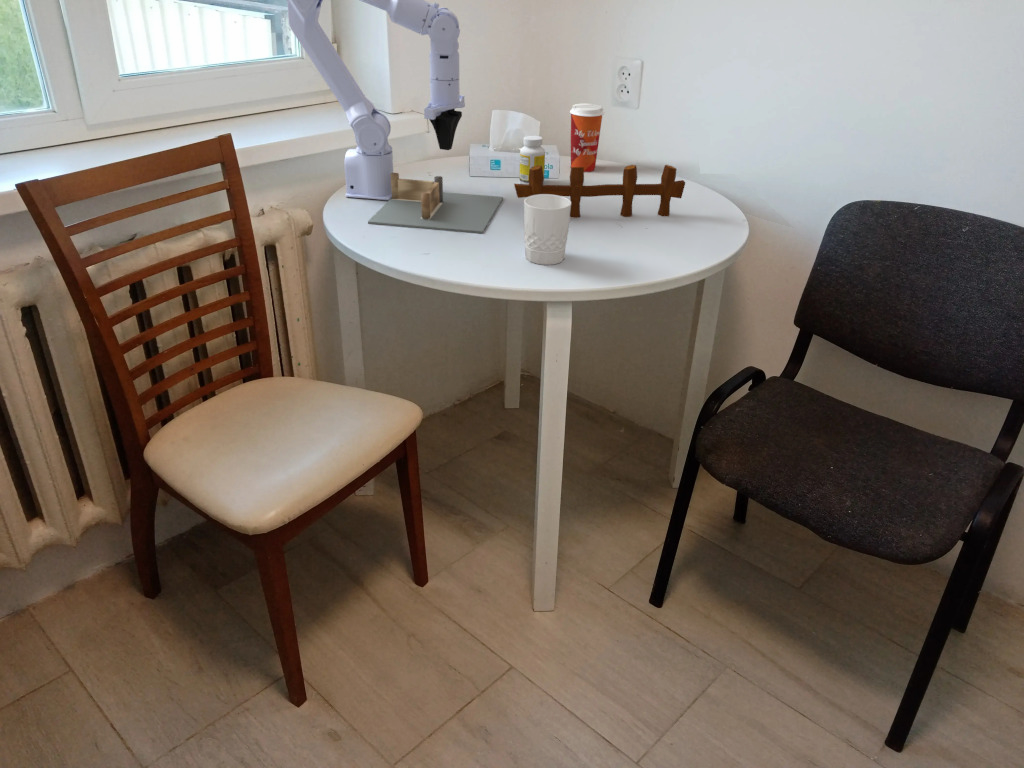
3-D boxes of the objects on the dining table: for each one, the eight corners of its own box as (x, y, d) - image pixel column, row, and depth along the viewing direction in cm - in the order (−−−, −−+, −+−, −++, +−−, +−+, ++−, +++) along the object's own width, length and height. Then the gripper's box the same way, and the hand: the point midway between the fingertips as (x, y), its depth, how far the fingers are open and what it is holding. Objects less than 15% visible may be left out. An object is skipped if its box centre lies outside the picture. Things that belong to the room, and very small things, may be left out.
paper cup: (571, 174, 180) (576, 110, 173) (562, 164, 187) (565, 103, 180) (604, 172, 182) (609, 109, 175) (593, 163, 188) (598, 102, 181)
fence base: (390, 199, 160) (389, 174, 158) (393, 196, 162) (392, 172, 159) (441, 203, 159) (441, 178, 156) (443, 200, 160) (443, 176, 158)
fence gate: (433, 202, 159) (433, 179, 156) (441, 202, 159) (441, 180, 156) (420, 218, 151) (419, 194, 148) (428, 218, 150) (428, 195, 148)
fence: (514, 219, 154) (515, 168, 148) (512, 214, 156) (514, 164, 151) (681, 217, 157) (688, 167, 152) (677, 212, 160) (684, 163, 155)
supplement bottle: (544, 180, 176) (546, 135, 171) (542, 187, 171) (545, 141, 166) (520, 178, 176) (521, 133, 171) (518, 185, 172) (519, 140, 167)
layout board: (368, 223, 149) (367, 221, 149) (400, 190, 167) (400, 188, 167) (482, 233, 146) (482, 231, 146) (503, 198, 164) (503, 196, 164)
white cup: (520, 249, 140) (521, 194, 135) (564, 249, 141) (567, 194, 135) (524, 266, 133) (526, 209, 128) (570, 266, 134) (574, 209, 129)
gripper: (447, 86, 147) (448, 160, 154) (478, 74, 158) (477, 143, 165) (413, 82, 149) (415, 155, 156) (446, 70, 160) (447, 139, 167)
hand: (445, 149), depth 161 cm, fingers closed
